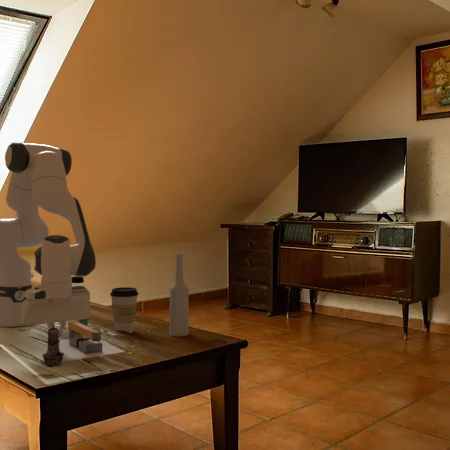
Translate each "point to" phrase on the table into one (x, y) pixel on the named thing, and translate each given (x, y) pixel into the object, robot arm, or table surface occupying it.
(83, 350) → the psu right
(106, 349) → the board
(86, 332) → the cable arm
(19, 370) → the table surface
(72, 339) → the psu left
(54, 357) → the dark grey tall piece
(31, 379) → the table surface
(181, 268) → the bottle
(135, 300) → the coffee cup
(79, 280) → the beverage bottle
